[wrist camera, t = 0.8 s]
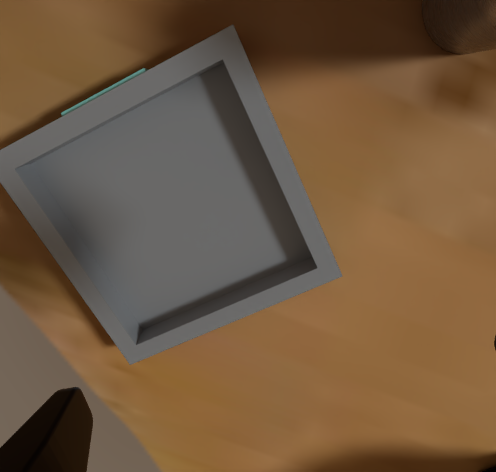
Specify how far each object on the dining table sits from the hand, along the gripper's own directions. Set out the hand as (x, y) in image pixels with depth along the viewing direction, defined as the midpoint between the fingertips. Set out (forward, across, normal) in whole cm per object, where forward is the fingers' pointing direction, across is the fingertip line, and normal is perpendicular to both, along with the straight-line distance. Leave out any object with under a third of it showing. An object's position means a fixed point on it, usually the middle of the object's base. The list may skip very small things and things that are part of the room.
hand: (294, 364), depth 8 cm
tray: (+14, +4, +1) cm, 14 cm away
